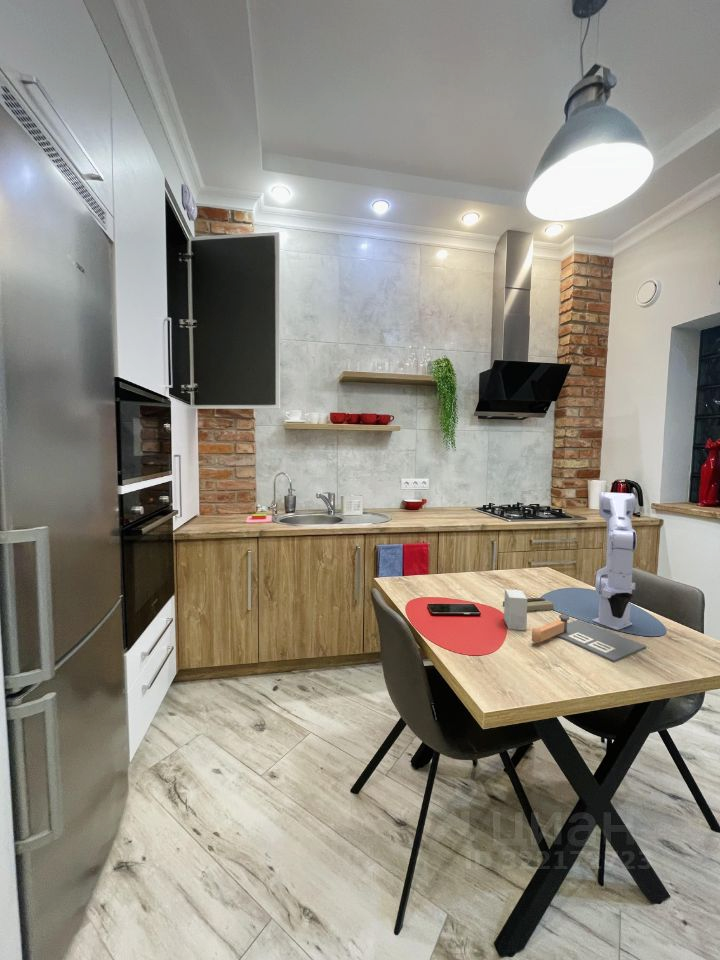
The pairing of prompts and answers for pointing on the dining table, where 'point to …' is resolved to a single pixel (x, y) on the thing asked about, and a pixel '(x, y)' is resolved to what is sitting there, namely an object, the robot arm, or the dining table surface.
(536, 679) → the dining table surface
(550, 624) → the swing bar
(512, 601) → the small box
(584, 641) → the board
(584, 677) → the dining table surface
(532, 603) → the brown flat block
